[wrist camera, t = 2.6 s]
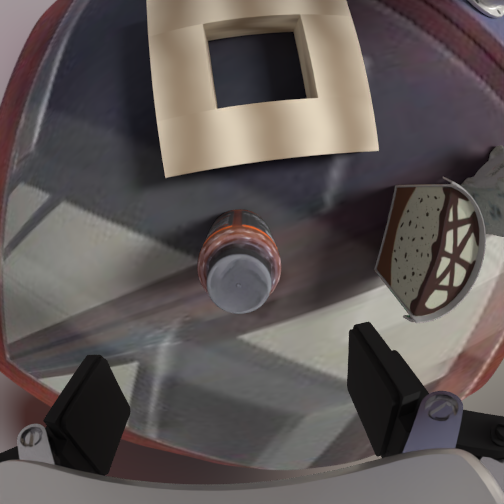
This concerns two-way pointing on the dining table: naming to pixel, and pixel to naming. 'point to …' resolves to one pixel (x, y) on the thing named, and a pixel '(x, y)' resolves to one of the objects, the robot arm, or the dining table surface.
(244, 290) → the supplement bottle
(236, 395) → the dining table surface
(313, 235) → the dining table surface
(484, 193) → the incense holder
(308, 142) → the socket board
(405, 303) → the food container
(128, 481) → the robot arm
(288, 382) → the dining table surface
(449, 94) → the dining table surface
